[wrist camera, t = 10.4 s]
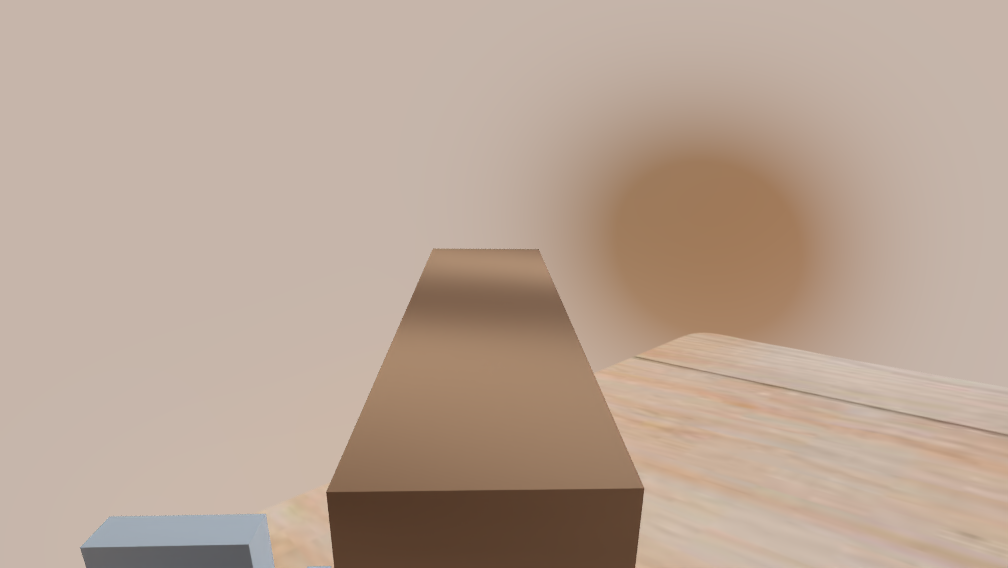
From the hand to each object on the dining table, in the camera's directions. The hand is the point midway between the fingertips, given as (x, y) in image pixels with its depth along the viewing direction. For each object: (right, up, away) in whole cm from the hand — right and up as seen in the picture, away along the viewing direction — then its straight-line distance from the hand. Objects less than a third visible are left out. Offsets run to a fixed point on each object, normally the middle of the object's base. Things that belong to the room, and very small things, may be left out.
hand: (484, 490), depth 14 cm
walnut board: (0, -10, 0) cm, 10 cm away
